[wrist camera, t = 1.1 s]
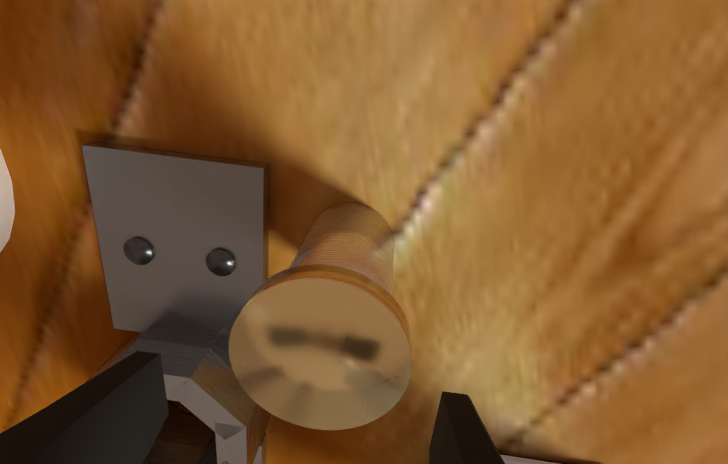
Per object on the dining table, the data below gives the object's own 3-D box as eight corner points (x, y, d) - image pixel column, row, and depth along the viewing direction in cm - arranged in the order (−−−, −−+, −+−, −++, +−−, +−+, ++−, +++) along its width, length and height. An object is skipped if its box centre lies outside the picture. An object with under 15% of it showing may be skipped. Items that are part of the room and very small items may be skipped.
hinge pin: (414, 197, 17) (426, 297, 10) (398, 297, 20) (397, 441, 12) (299, 183, 18) (225, 269, 10) (295, 282, 20) (230, 416, 12)
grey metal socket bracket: (88, 141, 18) (6, 160, 14) (276, 164, 17) (243, 191, 14) (150, 513, 28) (113, 580, 24) (269, 532, 28) (249, 603, 24)
